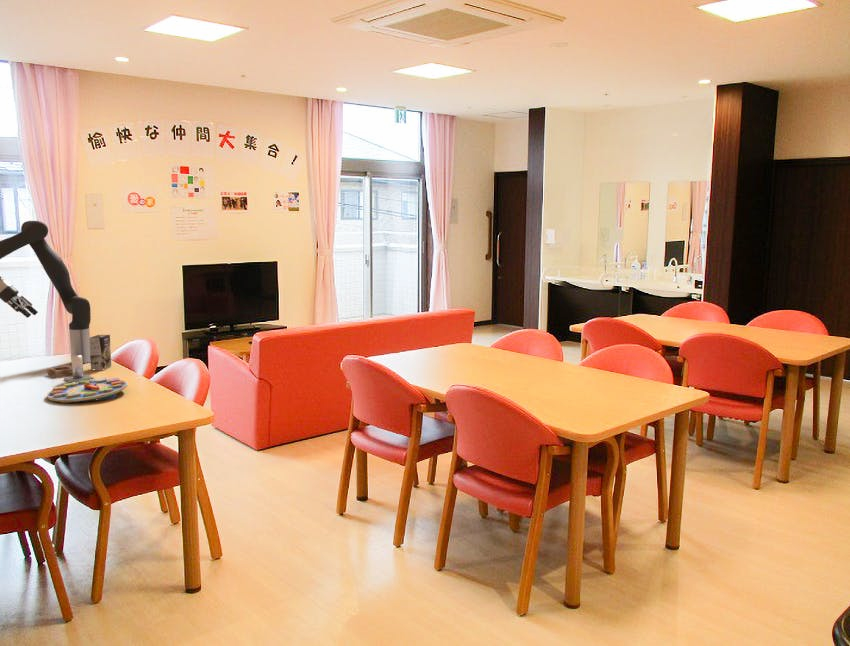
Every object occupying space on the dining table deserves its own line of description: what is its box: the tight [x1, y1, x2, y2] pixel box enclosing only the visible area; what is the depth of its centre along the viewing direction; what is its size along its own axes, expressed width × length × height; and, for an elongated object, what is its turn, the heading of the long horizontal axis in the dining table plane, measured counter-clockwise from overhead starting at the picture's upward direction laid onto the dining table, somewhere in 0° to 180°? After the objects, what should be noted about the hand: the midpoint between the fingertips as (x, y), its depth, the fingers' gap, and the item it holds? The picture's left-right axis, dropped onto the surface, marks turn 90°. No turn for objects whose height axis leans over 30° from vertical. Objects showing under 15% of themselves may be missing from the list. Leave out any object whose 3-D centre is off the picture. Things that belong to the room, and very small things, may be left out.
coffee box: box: [89, 334, 112, 371], centre depth 351 cm, size 9×6×16 cm
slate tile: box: [63, 374, 95, 383], centre depth 328 cm, size 9×9×1 cm
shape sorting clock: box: [46, 377, 128, 404], centre depth 301 cm, size 31×30×6 cm
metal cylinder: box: [70, 355, 85, 379], centre depth 327 cm, size 4×4×10 cm
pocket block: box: [46, 365, 73, 378], centre depth 338 cm, size 9×9×3 cm
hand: (33, 315), depth 330 cm, fingers open, 8 cm apart
